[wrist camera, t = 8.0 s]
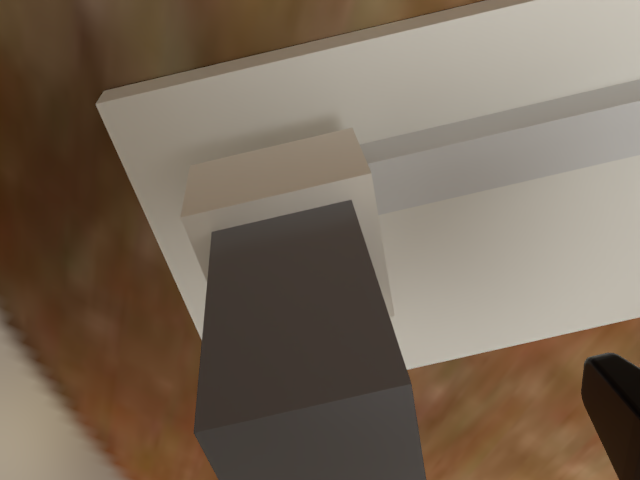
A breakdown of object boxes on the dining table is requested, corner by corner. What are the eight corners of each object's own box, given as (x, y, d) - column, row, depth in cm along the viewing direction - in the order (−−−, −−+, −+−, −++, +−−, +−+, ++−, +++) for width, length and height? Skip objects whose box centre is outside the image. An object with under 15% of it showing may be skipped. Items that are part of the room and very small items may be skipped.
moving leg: (382, 317, 18) (469, 598, 11) (264, 344, 18) (277, 639, 11) (345, 110, 14) (445, 349, 7) (193, 146, 14) (144, 418, 7)
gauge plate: (850, 248, 21) (985, 332, 17) (233, 388, 21) (230, 500, 18) (1012, -125, 14) (1296, -122, 10) (103, 90, 15) (54, 169, 11)
